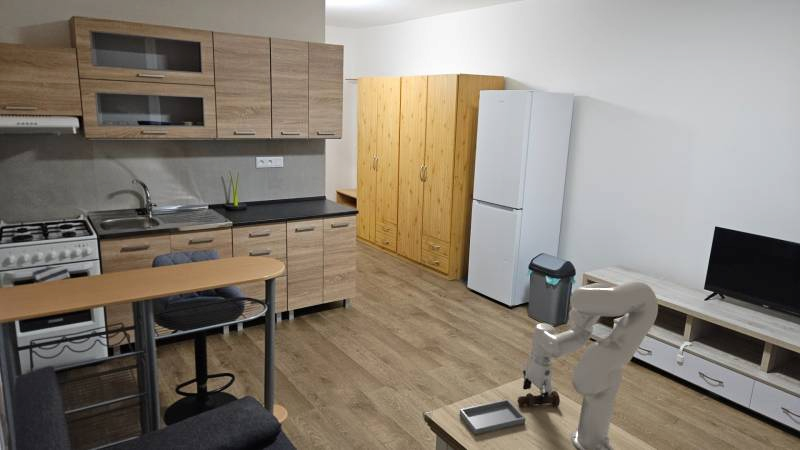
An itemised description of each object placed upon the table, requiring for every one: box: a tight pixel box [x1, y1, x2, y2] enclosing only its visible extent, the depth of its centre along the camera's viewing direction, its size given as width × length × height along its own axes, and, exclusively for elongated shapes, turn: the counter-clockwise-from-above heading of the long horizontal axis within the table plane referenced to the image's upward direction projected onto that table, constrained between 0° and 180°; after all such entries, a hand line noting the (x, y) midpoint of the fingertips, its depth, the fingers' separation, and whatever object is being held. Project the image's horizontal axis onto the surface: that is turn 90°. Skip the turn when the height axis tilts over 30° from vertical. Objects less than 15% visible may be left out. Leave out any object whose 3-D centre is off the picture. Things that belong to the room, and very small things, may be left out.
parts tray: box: [459, 398, 526, 436], centre depth 186 cm, size 11×20×2 cm, turn 112°
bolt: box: [517, 390, 561, 408], centre depth 196 cm, size 6×5×15 cm
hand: (534, 396), depth 198 cm, fingers open, 9 cm apart
